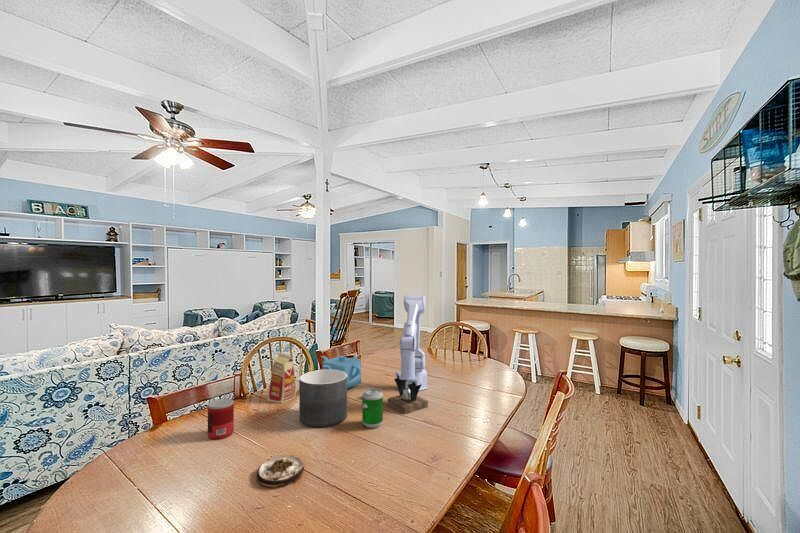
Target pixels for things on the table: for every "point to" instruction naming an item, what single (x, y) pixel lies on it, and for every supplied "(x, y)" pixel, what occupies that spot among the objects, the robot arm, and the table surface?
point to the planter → (322, 398)
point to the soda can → (372, 408)
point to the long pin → (406, 395)
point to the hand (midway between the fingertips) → (407, 397)
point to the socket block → (407, 404)
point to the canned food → (220, 418)
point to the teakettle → (345, 368)
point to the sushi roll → (280, 471)
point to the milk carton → (282, 380)
